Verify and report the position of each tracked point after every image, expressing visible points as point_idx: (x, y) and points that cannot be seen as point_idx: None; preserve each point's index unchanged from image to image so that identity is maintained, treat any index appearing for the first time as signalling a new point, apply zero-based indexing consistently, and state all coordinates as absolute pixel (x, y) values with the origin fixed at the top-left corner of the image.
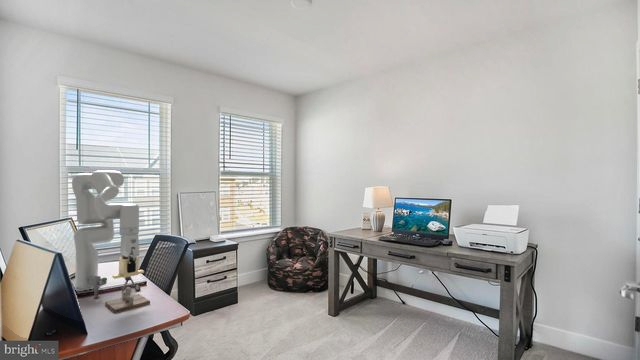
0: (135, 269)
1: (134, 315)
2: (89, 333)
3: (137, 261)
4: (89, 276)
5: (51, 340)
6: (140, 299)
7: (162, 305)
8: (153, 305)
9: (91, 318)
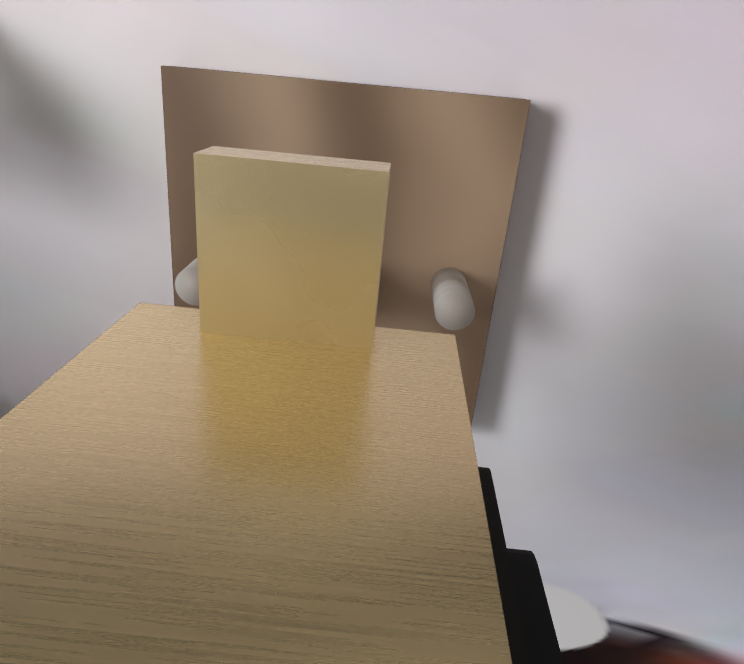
0: (493, 500)
1: (672, 345)
2: (672, 627)
3: (496, 648)
4: None
5: None
6: (392, 157)
7: (708, 19)
8: (604, 95)
9: None
